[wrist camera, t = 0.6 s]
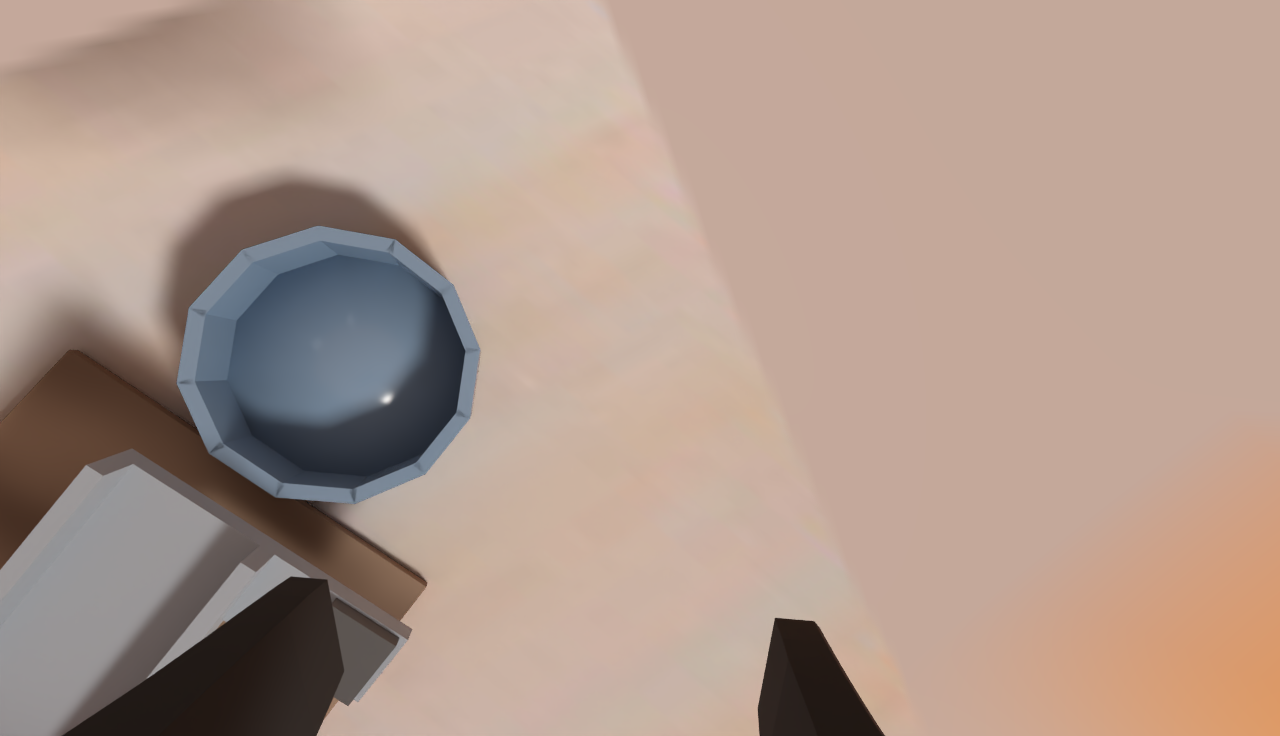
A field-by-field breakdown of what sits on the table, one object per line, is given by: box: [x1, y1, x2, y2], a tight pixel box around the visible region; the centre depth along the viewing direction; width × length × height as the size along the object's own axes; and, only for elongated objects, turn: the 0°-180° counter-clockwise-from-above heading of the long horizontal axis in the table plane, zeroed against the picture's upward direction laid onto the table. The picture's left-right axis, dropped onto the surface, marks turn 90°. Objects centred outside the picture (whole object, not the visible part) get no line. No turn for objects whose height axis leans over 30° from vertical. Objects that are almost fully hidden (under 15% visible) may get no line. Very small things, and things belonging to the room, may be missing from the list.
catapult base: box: [0, 350, 427, 719], centre depth 25 cm, size 15×18×5 cm
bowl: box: [177, 226, 481, 504], centre depth 28 cm, size 11×11×4 cm
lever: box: [0, 449, 412, 736], centre depth 22 cm, size 15×12×2 cm
